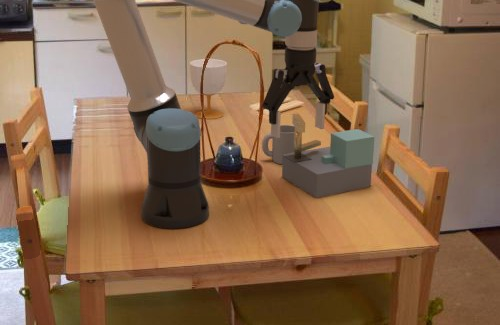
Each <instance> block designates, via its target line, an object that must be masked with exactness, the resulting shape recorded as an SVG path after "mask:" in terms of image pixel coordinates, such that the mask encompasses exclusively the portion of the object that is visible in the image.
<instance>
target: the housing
mask: <svg viewBox="0 0 500 325" xmlns="http://www.w3.org/2000/svg"><path fill="white" fill-rule="evenodd" d="M329 154H330V146H325V147H320V148H314V149H313V148H312V149H308V150H306V151H303V152H301V158H294V153H290V154H284V155H283V158H282V164H281V165H282V166H281V170H282V171H281V172H282V173H281V177H282V178H283V179H285V180H286V181H288V182H290V184H293V185H295V186H296V187H298V188H300V189H301V190H302V191H304V192H306V193H308V194H309V195H311V196H312V197H314V198H315V199H318V198H322V197H328V196H332V195H333V196H334V195H338V194H343V193H347V192H351V191H356V190H361V189H366V188H370V187H371V188H372V186H371V185H372V171H373V164H369V165H364V166H358V167H352V168H347V169H345V168H343V167H341V166H340V165H338V164H336V163H328V164H325V163H323V162H321V156H323V155H329Z"/></svg>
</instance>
